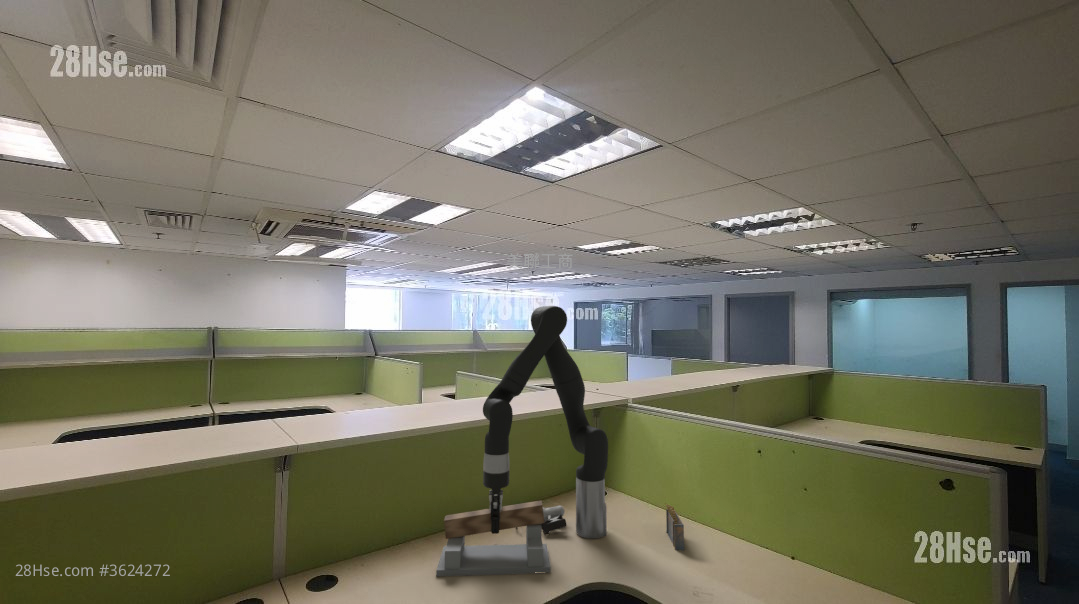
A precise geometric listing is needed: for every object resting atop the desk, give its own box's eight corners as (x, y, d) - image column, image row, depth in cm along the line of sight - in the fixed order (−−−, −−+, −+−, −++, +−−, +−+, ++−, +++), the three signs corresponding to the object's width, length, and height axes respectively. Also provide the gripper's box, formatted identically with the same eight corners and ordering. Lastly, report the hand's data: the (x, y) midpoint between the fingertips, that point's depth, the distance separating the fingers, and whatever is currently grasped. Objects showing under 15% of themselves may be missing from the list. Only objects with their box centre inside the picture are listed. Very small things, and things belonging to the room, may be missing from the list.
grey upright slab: (665, 533, 140) (664, 502, 141) (674, 534, 140) (674, 503, 141) (673, 551, 129) (673, 517, 130) (684, 551, 129) (683, 517, 130)
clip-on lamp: (512, 544, 138) (568, 532, 138) (508, 524, 138) (563, 512, 138) (515, 524, 150) (566, 513, 150) (511, 506, 150) (562, 495, 150)
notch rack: (546, 549, 129) (546, 517, 130) (550, 572, 116) (550, 537, 117) (443, 551, 127) (444, 519, 128) (436, 576, 114) (437, 540, 115)
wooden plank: (543, 517, 128) (541, 500, 128) (544, 522, 124) (542, 504, 125) (447, 533, 126) (445, 515, 126) (445, 538, 122) (443, 520, 122)
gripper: (509, 475, 119) (508, 541, 118) (509, 460, 134) (508, 519, 132) (481, 476, 119) (480, 541, 118) (484, 461, 133) (483, 519, 132)
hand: (495, 529), depth 125 cm, fingers closed on wooden plank, 3 cm apart
